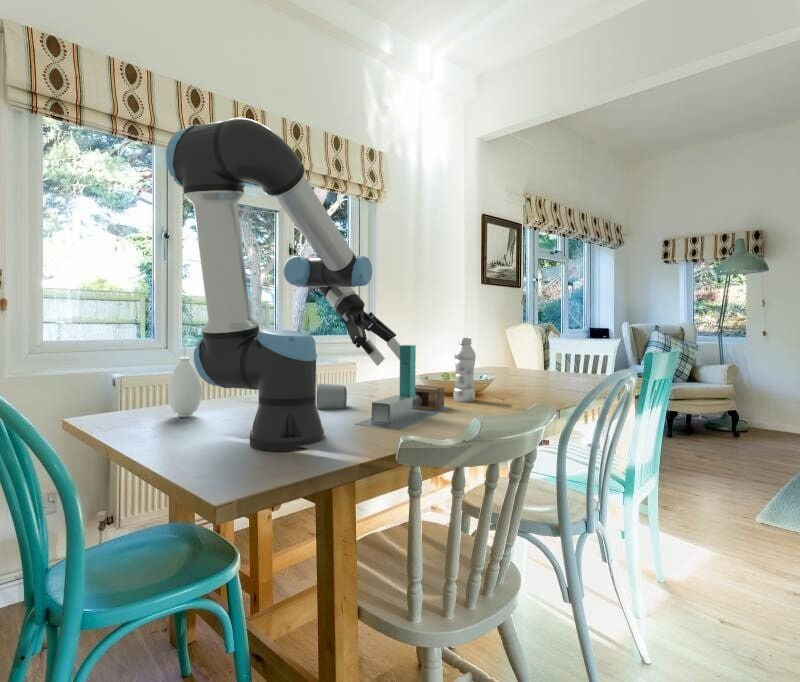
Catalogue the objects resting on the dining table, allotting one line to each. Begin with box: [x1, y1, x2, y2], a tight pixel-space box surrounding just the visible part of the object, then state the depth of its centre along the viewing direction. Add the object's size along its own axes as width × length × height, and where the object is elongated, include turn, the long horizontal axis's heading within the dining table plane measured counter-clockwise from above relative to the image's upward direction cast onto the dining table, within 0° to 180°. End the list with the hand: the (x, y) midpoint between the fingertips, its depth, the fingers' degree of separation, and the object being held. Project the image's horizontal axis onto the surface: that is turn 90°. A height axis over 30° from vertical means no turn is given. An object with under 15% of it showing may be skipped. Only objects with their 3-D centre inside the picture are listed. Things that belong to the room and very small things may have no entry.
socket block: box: [413, 384, 445, 411], centre depth 142 cm, size 6×8×6 cm
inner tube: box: [399, 344, 422, 409], centre depth 129 cm, size 17×3×17 cm, turn 153°
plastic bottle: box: [452, 337, 477, 403], centre depth 154 cm, size 6×7×20 cm
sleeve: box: [371, 394, 412, 426], centre depth 124 cm, size 12×5×5 cm, turn 153°
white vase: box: [168, 347, 202, 418], centre depth 131 cm, size 8×8×18 cm
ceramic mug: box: [316, 382, 348, 410], centre depth 143 cm, size 11×8×8 cm
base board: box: [354, 406, 452, 431], centre depth 131 cm, size 32×12×1 cm, turn 153°
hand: (393, 360), depth 135 cm, fingers open, 13 cm apart
